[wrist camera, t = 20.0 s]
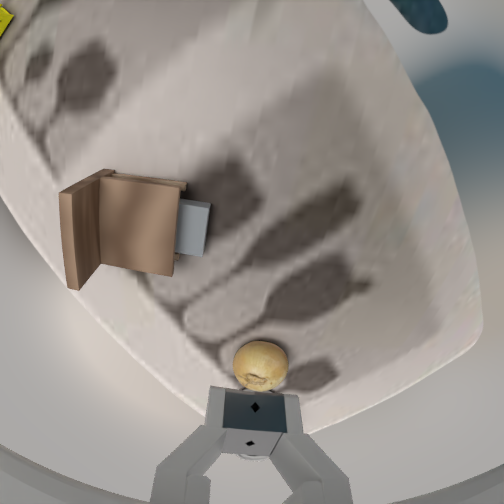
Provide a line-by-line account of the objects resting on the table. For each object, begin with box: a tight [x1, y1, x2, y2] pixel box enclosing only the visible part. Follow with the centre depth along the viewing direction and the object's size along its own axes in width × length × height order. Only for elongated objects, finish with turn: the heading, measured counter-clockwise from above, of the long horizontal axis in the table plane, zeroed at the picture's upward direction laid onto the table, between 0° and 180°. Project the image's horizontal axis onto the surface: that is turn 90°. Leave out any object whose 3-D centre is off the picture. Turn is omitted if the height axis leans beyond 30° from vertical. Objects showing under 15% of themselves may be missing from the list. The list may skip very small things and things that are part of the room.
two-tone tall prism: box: [175, 198, 211, 257], centre depth 35 cm, size 12×6×2 cm, turn 79°
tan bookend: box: [59, 169, 187, 291], centre depth 31 cm, size 10×10×10 cm
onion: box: [233, 341, 288, 392], centre depth 42 cm, size 8×8×7 cm
